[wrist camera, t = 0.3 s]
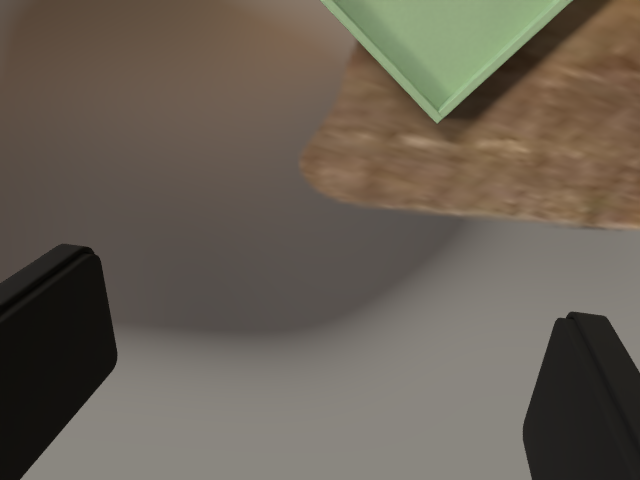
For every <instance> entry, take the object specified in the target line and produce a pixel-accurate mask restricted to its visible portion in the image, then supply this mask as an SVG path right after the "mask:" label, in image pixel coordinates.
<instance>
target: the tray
mask: <svg viewBox="0 0 640 480" xmlns="http://www.w3.org/2000/svg"><path fill="white" fill-rule="evenodd" d="M320 1H321V2H322V3H323V4H324V5H325V6H326V7H327V8H328V9H329V10H330V12H332V14H333V15H334V16H335V17H336V18H337V19H338V20H339V21H340V22H341V23H342V24H343V25H344V26H345V27H346V28H347V30H348V31H350V33H351V34H352V35H353V36H354V37H355V38H356V39H357V40H358V41H359V42H360V43H361V44H362V45H363V46H364V47H365V49H366V50H367V51H368V52H369V53H370V54H371V55H372V56H373V57H374V58H375V59H376V60H377V61H378V62H379V63H380V64H381V65H382V66H383V68H384V69H385V70H386V71H387V72H388V73H389V74H390V75H391V76H392V77H393V78H394V79H395V80H396V81H397V82H398V83H399V84H400V85H401V87H402V88H403V89H404V90H405V91H406V92H407V93H408V94H409V95H410V96H411V97H412V98H413V99H414V100H415V101H416V102H417V103H418V104H419V106H420V107H421V108H422V109H423V110H424V111H425V112H426V113H427V114H428V115H429V116H430V117H431V118H432V119H433V120H434V121H435V122H436V123H437V124H438V123H439V122H440V121H441V120H442V119H443V118H444V117H446V116H447V115H448V114H449V113H450V112H451V111H452V110H453V109H454V108H455V107H456V106H458V105H459V104H460V103H461V102H462V101H463V100H464V99H465V98H466V97H467V96H469V95H470V94H471V93H472V92H473V91H474V90H475V89H476V88H477V87H478V86H480V85H481V84H482V83H483V82H484V81H485V80H486V79H487V78H488V77H489V76H490V75H492V74H493V73H494V72H495V71H496V70H497V69H498V68H499V67H500V66H501V65H503V64H504V63H505V62H506V61H507V60H508V59H509V58H510V57H511V56H512V55H514V54H515V53H516V52H517V51H518V50H519V49H520V48H521V47H522V46H523V45H524V44H526V43H527V42H528V41H529V40H530V39H531V38H532V37H533V36H534V35H535V34H537V33H538V32H539V31H540V30H541V29H542V28H543V27H544V26H545V25H546V24H547V23H549V22H550V21H551V20H552V19H553V18H554V17H555V16H556V15H557V14H558V13H560V12H561V11H562V10H563V9H564V8H565V7H566V6H567V5H568V4H569V3H571V2H572V1H573V0H320Z"/></svg>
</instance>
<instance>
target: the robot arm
mask: <svg viewBox="0 0 640 480" xmlns="http://www.w3.org/2000/svg"><path fill="white" fill-rule="evenodd" d="M116 362H117V348H116V343H115V337H114V332H113V326H112V320H111V315H110V309H109V304H108V298H107V293H106V287H105V282H104V277H103V271H102V265H101V261H100V258H99V257H98V256H97V255H95V254H94V252H93V250H92V249H91V248H89V247H84V246H77V245H69V244H61V245H58V246H56V247H55V248H53V249H52V250H50V251H49V252H47V253H46V254H44V255H43V256H41V257H40V258H38V259H37V260H35V261H34V262H32V263H31V264H29V265H28V266H26V267H25V268H23V269H22V270H20V271H19V272H17V273H15V274H14V275H12V276H11V277H9V278H8V279H6V280H5V281H3V282H2V283H0V480H20V479H21V478H22V477H23V475H24V474H25V473H26V472H27V471H28V469H29V468H30V467H31V466H32V465H33V464H34V462H35V461H36V460H37V459H38V458H39V456H40V455H41V454H42V453H43V452H44V451H45V449H46V448H47V447H48V446H49V445H50V444H51V442H52V441H53V440H54V439H55V438H56V436H57V435H58V434H59V433H60V432H61V431H62V429H63V428H64V427H65V426H66V425H67V424H68V422H69V421H70V420H71V419H72V418H73V416H74V415H75V414H76V413H77V412H78V410H79V409H80V408H81V407H82V406H83V405H84V403H85V402H86V401H87V400H88V399H89V398H90V396H91V395H92V394H93V393H94V392H95V390H96V389H97V388H98V387H99V386H100V385H101V384H102V382H103V381H104V380H105V379H106V378H107V376H108V375H109V374H110V373H111V372H112V370H113V369H114V367H115V365H116ZM523 442H524V446H525V451H526V455H527V460H528V464H529V468H530V473H531V477H532V480H640V373H639V371H638V369H637V368H636V366H635V364H634V362H633V361H632V359H631V358H630V356H629V354H628V352H627V351H626V349H625V347H624V346H623V344H622V342H621V341H620V339H619V337H618V335H617V334H616V332H615V330H614V329H613V327H612V325H611V323H610V322H609V320H608V319H607V318H606V317H605V316H602V315H594V314H587V313H579V312H570V313H569V314H568V315H567V317H566V318H558V319H557V320H556V321H555V324H554V327H553V330H552V334H551V337H550V340H549V343H548V347H547V350H546V353H545V356H544V359H543V362H542V366H541V369H540V372H539V375H538V379H537V382H536V385H535V388H534V391H533V395H532V398H531V401H530V404H529V408H528V411H527V414H526V417H525V420H524V425H523Z"/></svg>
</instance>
